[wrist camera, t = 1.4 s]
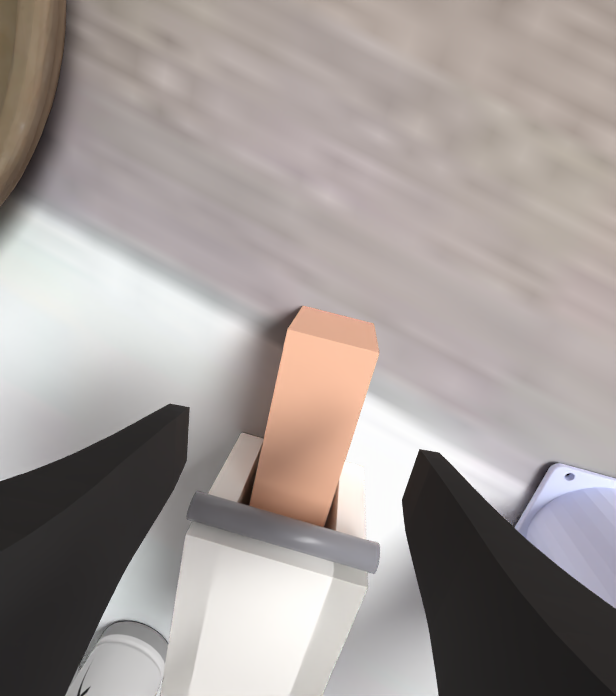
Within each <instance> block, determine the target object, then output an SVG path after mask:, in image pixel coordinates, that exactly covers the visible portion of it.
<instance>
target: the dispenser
mask: <svg viewBox="0 0 616 696" xmlns="http://www.w3.org/2000/svg"><path fill="white" fill-rule="evenodd" d="M263 440H264V439H263V438H260V437H256V436H253V435H249V434H246V433H242V432H241V434H240V436H239V438H238V440H237V442H236V443H235V445H234V447H233V449H232V451H231V452H230V454H229V456H228V458H227V460H226V462H225V463H224V465H223V467H222V469H221V471H220V473H219V474H218V476H217V478H216V480H215V482H214V483H213V485H212V487H211V489H210V491H209V493H208V494H207V493H203V492H200V491H197V492H196V493H195V495H194V497H193V499H192V501H191V503H190V506H189V509H188V513H187V519H188V520H191V521H193V522H192V524H191V525H190V527H189V529H188V531H187V533H186V535H185V541H184V548H183V554H182V560H181V567H180V573H179V579H178V586H177V592H176V598H175V605H174V611H173V617H172V624H171V630H170V636H169V643H168V649H167V655H166V662H165V668H164V674H163V681H162V687H161V693H160V696H322V695H323V693H324V690H325V688H326V686H327V683H328V681H329V679H330V676H331V674H332V672H333V669H334V667H335V665H336V662H337V660H338V657H339V655H340V653H341V650H342V648H343V646H344V643H345V641H346V639H347V636H348V634H349V632H350V629H351V627H352V625H353V622H354V620H355V617H356V615H357V613H358V610H359V608H360V606H361V603H362V601H363V599H364V596H365V594H366V592H367V589H368V572H369V573H373V574H375V572H376V570H377V568H378V564H379V558H380V546H379V543H376V542H373V541H369V540H366V518H365V491H364V467H363V466H360V465H356V464H352V463H349V462H344V466H343V469H342V472H341V475H340V478H339V481H338V484H337V488H336V491H335V494H334V497H333V500H332V503H331V506H330V510H329V513H328V516H327V519H326V522H325V525H324V527H321V526H317V525H314V524H311V523H307V522H304V521H300V520H297V519H293V518H290V517H286V516H283V515H279V514H276V513H272V512H269V511H266V510H262V509H259V508H255V507H252V506H249V502H250V498H251V493H252V489H253V485H254V481H255V476H256V472H257V468H258V463H259V458H260V454H261V449H262V444H263Z"/></svg>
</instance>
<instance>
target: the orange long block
mask: <svg viewBox="0 0 616 696" xmlns="http://www.w3.org/2000/svg"><path fill="white" fill-rule="evenodd" d="M378 356H379V348H378V343H377V337H376V332H375V327H374V324H373V323H369V322H365V321H362V320H358V319H354V318H350V317H346V316H342V315H338V314H334V313H330V312H326V311H322V310H318V309H314V308H310V307H306V306H302V308H301V309H300V311H299V312H298V314H297V315H296V317H295V318H294V320H293V322H292V323H291V325H290V326H289V328H288V329H287V334H286V338H285V343H284V347H283V352H282V357H281V361H280V366H279V371H278V375H277V380H276V384H275V389H274V394H273V398H272V403H271V408H270V412H269V417H268V421H267V426H266V431H265V435H264V440H263V444H262V449H261V454H260V458H259V463H258V468H257V472H256V477H255V481H254V486H253V491H252V495H251V500H250V504H249V506H252V507H255V508H259V509H262V510H266V511H269V512H272V513H276V514H279V515H283V516H286V517H290V518H293V519H297V520H300V521H304V522H307V523H311V524H314V525H317V526H321V527H324V525H325V522H326V519H327V516H328V513H329V510H330V506H331V503H332V500H333V497H334V494H335V491H336V488H337V484H338V481H339V478H340V475H341V472H342V469H343V466H344V462H345V459H346V456H347V453H348V450H349V447H350V444H351V440H352V437H353V434H354V431H355V428H356V425H357V422H358V419H359V415H360V412H361V409H362V406H363V403H364V400H365V397H366V393H367V390H368V387H369V384H370V381H371V378H372V375H373V371H374V368H375V365H376V362H377V359H378Z"/></svg>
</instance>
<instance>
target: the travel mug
mask: <svg viewBox="0 0 616 696" xmlns="http://www.w3.org/2000/svg"><path fill="white" fill-rule="evenodd" d="M167 649H168V644H167V642H166V640H165V639H164V638H163V637H162V636H161V635H160V634H159V633H158V632H157V631H155V630H154V629H152V628H150V627H148V626H146V625H144V624H141V623H137V622H130V621H124V622H118V623H114V624H112V625H111V626H109V627H108V628H107V629H106V630H105V631H104V633H103V634H102V636H101V637H100V639H99V641H98V642H97V644H96V646H95V647H94V650H93V651H92V652H91V654H90V655H89V657H88V658H87V660H86V662H85V663H84V665H83V667H82V668H81V670H80V671H79V673H78V675H77V676H76V678H75V679H74V681H73V683H72V684H71V686H70V688H69V689H68V691H67V693H66V695H65V696H156V694H157V691H158V689H159V687H160V683H161V681H162V679H163V674H164V668H165V662H166V655H167Z"/></svg>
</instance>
